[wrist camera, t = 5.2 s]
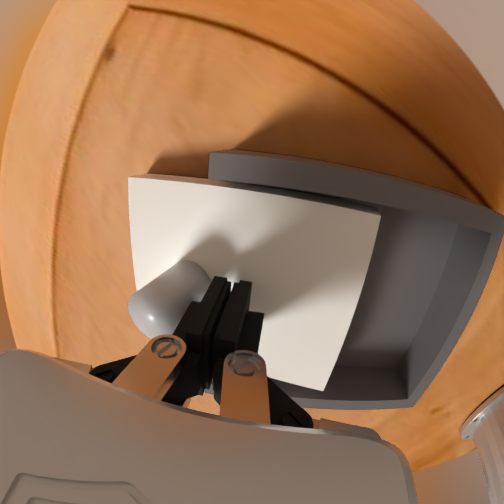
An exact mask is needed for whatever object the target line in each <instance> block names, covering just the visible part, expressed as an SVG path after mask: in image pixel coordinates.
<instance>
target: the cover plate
mask: <svg viewBox="0 0 504 504" xmlns="http://www.w3.org/2000/svg"><path fill="white" fill-rule="evenodd" d="M128 191H129V217H130V233H131V245H132V256H133V265H134V274H135V282H136V289H137V292H136V293H134V294H133V295H132V296H131V297H130V298H129V301H128V309H129V313H130V316H131V318H132V320H133V322H134V323H135V325H136V326H137V327H138V329H139V330H140V331H141V332H142V333H144V334H145V335H146V336H147V337H149V338H151V339H153V338H154V337H157V336H159V335H164V334H169V335H172V334H173V332H174V331H175V329H176V327H177V325H178V324H179V322H180V320H181V318H182V317H183V315H184V313H185V312H186V310H187V308H188V306H189V305H190V303H191V302H192V301H197V302H201V300H202V299H203V297H204V295H205V293H206V291H207V289H208V287H209V285H210V284H211V282H212V280H213V278H214V276H219V277H225V278H227V281H229V282H231V290H232V288H233V285H234V283H235V282H236V283H239V281H240V280H244V281H250V282H252V290H251V298H250V306H249V311H254V312H261V313H264V319H263V325H262V331H261V337H260V343H259V349H258V354H259V355H260V356H261V357H262V358H263V359H264V360H265V363H266V371H267V376H268V377H270V378H273V379H277V380H280V381H284V382H288V383H291V384H295V385H299V386H303V387H307V388H311V389H316V390H320V391H324V388H325V386H326V384H327V382H328V379H329V377H330V375H331V372H332V370H333V368H334V365H335V363H336V360H337V358H338V355H339V353H340V350H341V348H342V345H343V343H344V340H345V337H346V335H347V332H348V329H349V326H350V323H351V321H352V318H353V315H354V312H355V309H356V306H357V303H358V300H359V297H360V293H361V290H362V287H363V284H364V280H365V277H366V274H367V270H368V267H369V263H370V259H371V256H372V252H373V248H374V244H375V240H376V236H377V232H378V227H379V223H380V218H381V215H380V213H379V211H378V209H377V208H375V207H370V206H366V205H362V204H357V203H352V202H348V201H343V200H338V199H333V198H328V197H323V196H318V195H312V194H307V193H301V192H296V191H290V190H284V189H278V188H271V187H265V186H258V185H251V184H244V183H237V182H229V181H221V180H213V179H204V178H194V177H184V176H174V175H162V174H149V173H146V174H141V175H136V176H131V177H128Z"/></svg>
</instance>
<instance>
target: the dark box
mask: <svg viewBox="0 0 504 504" xmlns="http://www.w3.org/2000/svg"><path fill="white" fill-rule="evenodd" d="M208 179H214V180H224V181H229V182H237V183H244V184H251V185H258V186H265V187H271V188H278V189H284V190H290V191H296V192H301V193H307V194H312V195H318V196H323V197H328V198H333V199H338V200H343V201H348V202H352V203H357V204H362V205H366V206H370V207H375V208H377V209H378V211H379V213H380V215H381V218H380V223H379V227H378V232H377V236H376V240H375V244H374V248H373V252H372V256H371V259H370V263H369V267H368V270H367V274H366V277H365V280H364V284H363V287H362V290H361V293H360V297H359V300H358V303H357V306H356V309H355V312H354V315H353V318H352V321H351V323H350V326H349V329H348V332H347V335H346V337H345V340H344V343H343V345H342V348H341V350H340V353H339V355H338V358H337V360H336V363H335V365H334V368H333V370H332V372H331V375H330V377H329V379H328V382H327V384H326V386H325V388H324V391H320V390H316V389H311V388H307V387H303V386H299V385H295V384H291V383H288V382H284V381H280V380H277V379H273V378H270V377H269V378H270V379H271V380H272V381H273V382H274V383H275V384H276V385H277V386H278V387H279V388H280V389H282V390H283V391H284V392H285V393H286V394H287V395H288V396H289V397H290V398H291V399H292V400H294V401H295V402H296V403H297V404H298V405H299V406H300V407H303V408H317V409H340V410H372V409H395V408H409V407H413V406H414V405H415V404H416V402H417V401H418V400H419V398H420V397H421V396H422V395H423V393H424V392H425V391H426V389H427V388H428V386H429V385H430V384H431V382H432V381H433V379H434V378H435V377H436V375H437V374H438V372H439V371H440V369H441V368H442V366H443V365H444V363H445V362H446V360H447V358H448V357H449V355H450V354H451V352H452V350H453V349H454V347H455V345H456V344H457V342H458V340H459V338H460V337H461V335H462V333H463V331H464V329H465V327H466V326H467V324H468V322H469V320H470V318H471V316H472V314H473V312H474V310H475V308H476V306H477V303H478V301H479V299H480V297H481V295H482V292H483V290H484V288H485V285H486V283H487V280H488V278H489V275H490V273H491V270H492V267H493V265H494V262H495V259H496V256H497V253H498V250H499V247H500V244H501V241H502V238H503V234H504V216H503V215H501V214H500V213H498V212H496V211H494V210H492V209H489V208H487V207H485V206H483V205H481V204H479V203H477V202H475V201H472V200H470V199H468V198H465V197H462V196H460V195H457V194H454V193H451V192H448V191H444V190H441V189H438V188H435V187H432V186H428V185H425V184H422V183H418V182H415V181H411V180H407V179H404V178H400V177H396V176H392V175H388V174H384V173H380V172H375V171H371V170H367V169H362V168H357V167H353V166H348V165H343V164H337V163H332V162H326V161H321V160H315V159H309V158H302V157H295V156H288V155H281V154H273V153H264V152H255V151H245V150H234V149H231V150H223V151H216V152H210V157H209V170H208ZM205 393H209V394H214V391H213V380H212V383H211V386H210V389H209V390H208V389H205Z"/></svg>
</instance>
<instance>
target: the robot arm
mask: <svg viewBox="0 0 504 504" xmlns="http://www.w3.org/2000/svg"><path fill="white" fill-rule="evenodd" d="M251 290H252V282H250V281H244V280H240V281H239V283H236V282H235V283H234V285H233V288H232V290H231V282H229V281H227V278H225V277H219V276H214V278H213V280H212V282H211V284H210V285H209V287H208V289H207V291H206V293H205V295H204V297H203V299H202V300H201V302H197V301H192V302H191V303H190V305H189V306H188V308H187V310H186V312H185V313H184V315H183V317H182V318H181V320H180V322H179V324H178V325H177V327H176V329H175V331H174V332H173V334H172V335H169V334H164V335H159V336H157V337H154V338H153V339H152V340H150V341H149V342H148V344H147V345H146V346H145V347H144V348H143V349H142V350H141V351H140V352H139V354H138V355H135V356H132V357H128V358H125V359H121V360H118V361H114V362H110V363H107V364H103V365H100V366H97V367H95V368H92V365H88V364H83V363H78V362H73V361H69V360H64V359H60V358H56V357H50V356H48V355H45V354H42V353H40V352H36V351H32V350H26V349H11V350H8V351H6V352H4V353H2V354H1V355H0V504H418V502H417V494H416V488H415V483H414V479H413V475H412V471H411V468H410V465H409V463H408V460H407V458H406V456H405V455H404V453H403V452H402V451H401V450H400V449H399V448H398V447H396V446H395V445H393V444H391V443H389V442H387V441H385V440H382V439H381V438H380V436H379V434H378V433H377V432H376V431H374V430H373V429H370V428H366V427H360V426H355V425H350V424H345V423H340V422H336V421H331V420H327V419H323V418H321V419H320V420H316V419H312V418H311V416H310V415H309V414H308V413H307V412H306V411H305V410H304V409H303V408H301V407H300V406H299V405H298V404H297V403H296V402H295V401H294V400H292V399H291V398H290V397H289V396H288V395H287V394H286V393H285V392H284V391H283V390H282V389H280V388H279V387H278V386H277V385H276V384H275V383H274V382H273V381H272V380H271V379H270V378H269V377H268V376H267V371H266V363H265V360H264V359H263V358H262V357H261V356H260V355H259V354H258V349H259V343H260V337H261V331H262V325H263V319H264V313H261V312H254V311H249V306H250V298H251ZM212 380H213V391H214V399H215V400H216V402H217V403H218V404H219V405H220V416H218V415H214V414H209V413H205V412H200V411H196V410H192V409H188V408H187V407H188V405H189V403H190V401H191V397H193V396H196V395H202V396H203V393H204V390H205V389H208V390H209V389H210V386H211V383H212ZM460 435H461V437H462V439H464V440H469V439H474V442H475V445H476V448H477V451H478V454H479V457H480V461H481V464H482V467H483V472H484V475H485V479H486V483H487V487H488V492H489V497H490V502H491V504H504V386H503V387H502V388H501V389H499V390H498V391H497V392H495V393H494V394H493V395H492V396H491V397H489V398H488V399H487V400H486V401H485V402H484V403H483V404H481V405H480V406H479V407H478V408H477V409H476V410H475V411H474V412H473V413H472V414H471V415H470V416H469V417H468V419H467V420H466V421H465V422H464V424H463V425H462V427H461V429H460Z"/></svg>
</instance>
